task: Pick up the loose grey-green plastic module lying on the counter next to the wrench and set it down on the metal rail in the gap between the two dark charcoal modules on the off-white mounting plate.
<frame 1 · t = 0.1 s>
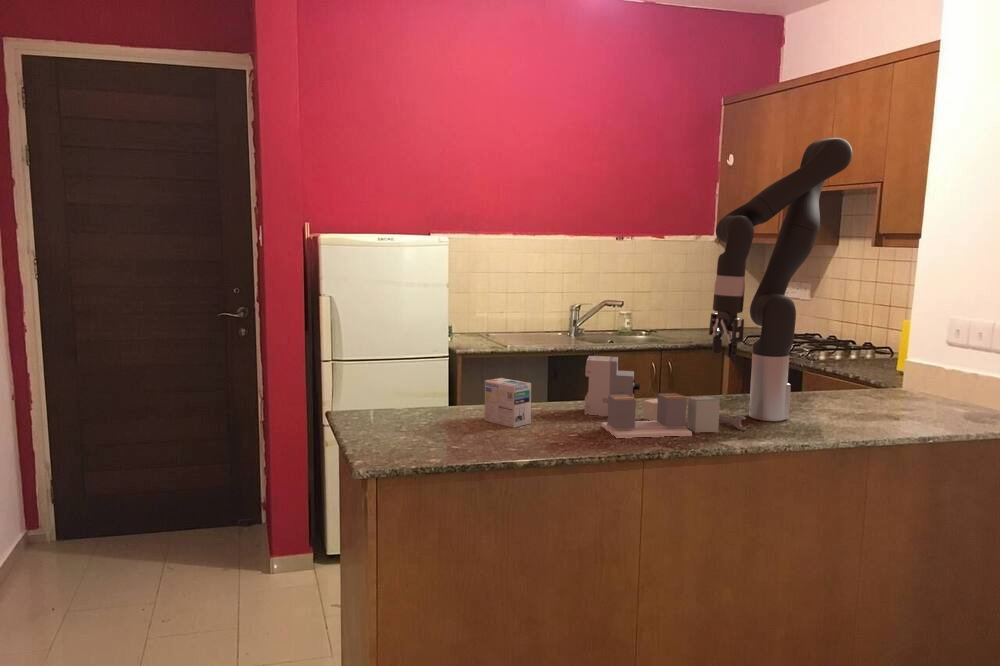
hand: (723, 355, 200), 17 cm above the worktop, tool pointing down, fingers open, 8 cm apart
circuit breaker: (611, 414, 208), on the worktop
module: (702, 430, 191), on the worktop
light bulb box: (507, 423, 196), on the worktop
combination wrench: (719, 424, 199), on the worktop
rail board: (645, 430, 189), on the worktop
terminal block: (654, 419, 201), on the worktop
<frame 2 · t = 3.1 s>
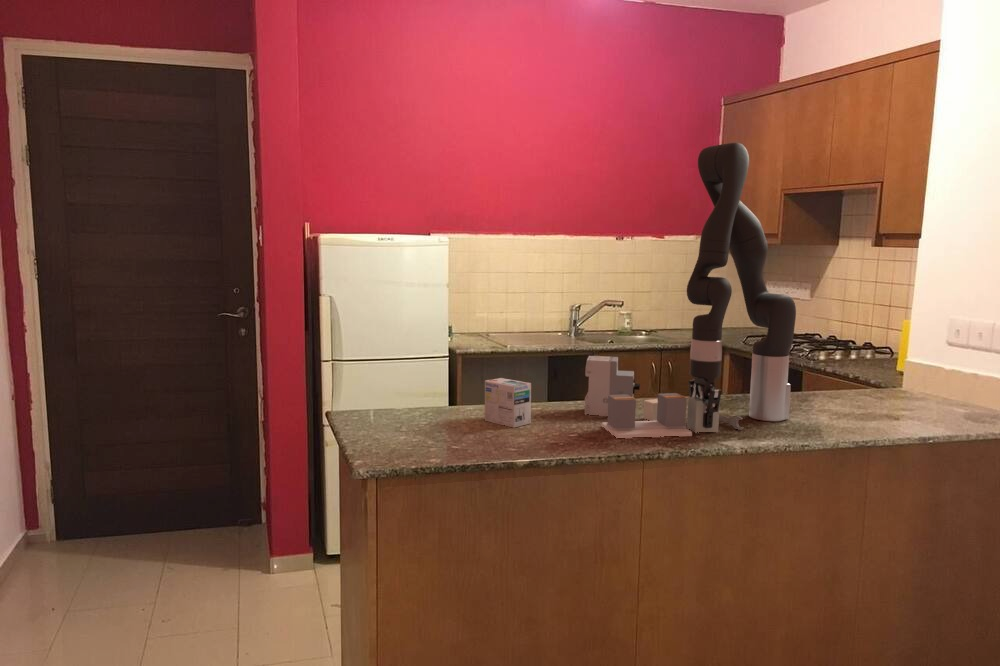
hand: (702, 424, 191), 1 cm above the worktop, tool pointing down, fingers closed on module, 5 cm apart
module: (702, 430, 191), on the worktop, touching gripper
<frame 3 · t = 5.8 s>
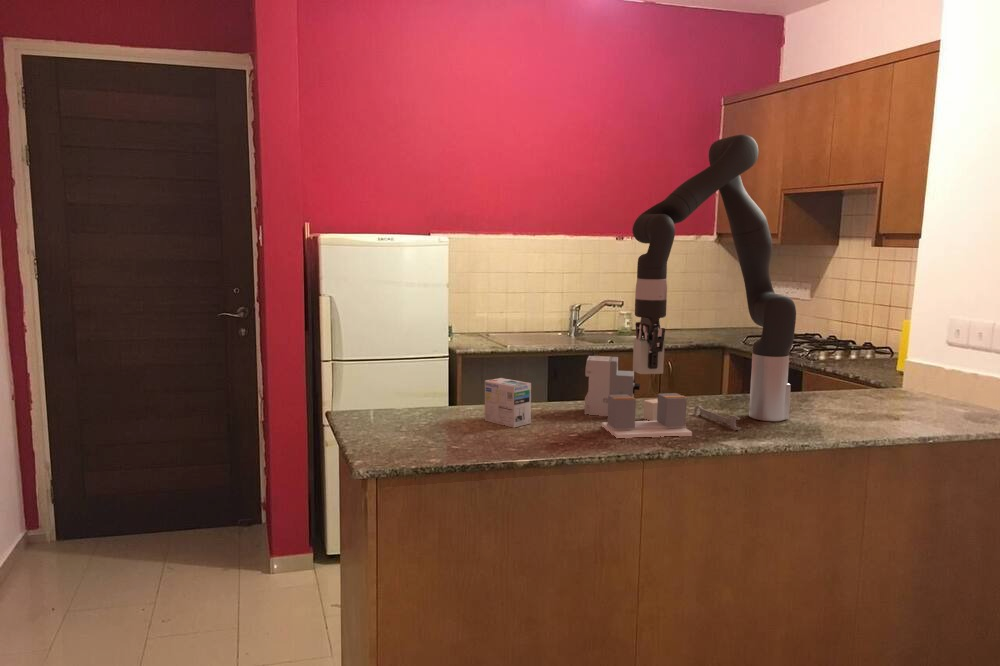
hand: (648, 366, 187), 16 cm above the worktop, tool pointing down, fingers closed on module, 5 cm apart
module: (647, 372, 187), point 15 cm above the worktop, touching gripper
when the fingers open (5 cm above the worktop, at t = 8.6 s): module drops 1 cm, resting on rail board.
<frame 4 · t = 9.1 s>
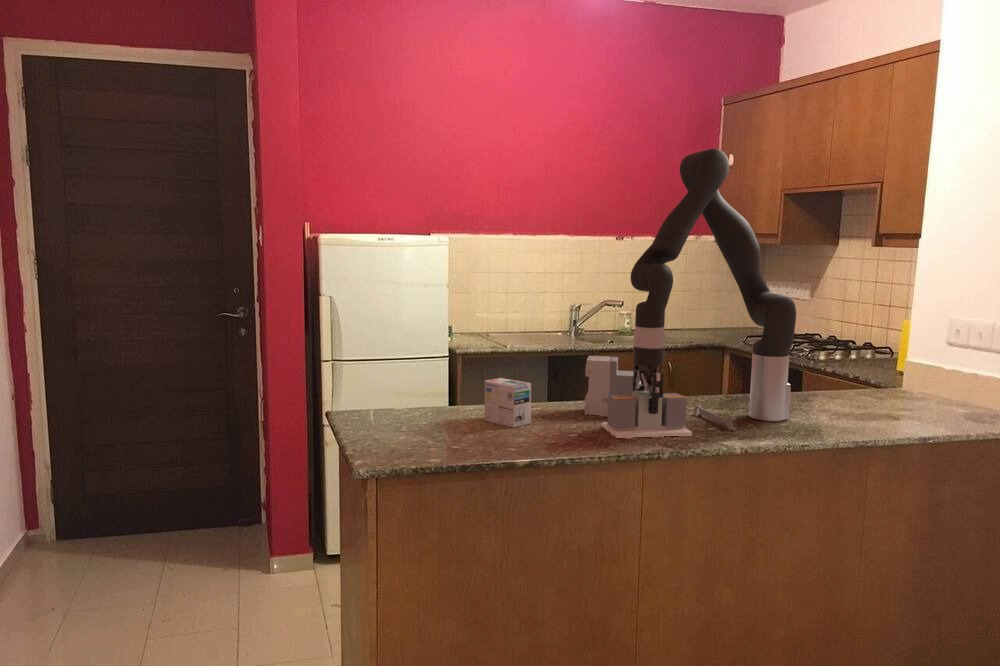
hand: (646, 409, 189), 5 cm above the worktop, tool pointing down, fingers open, 8 cm apart
module: (646, 424, 189), point 2 cm above the worktop, touching rail board
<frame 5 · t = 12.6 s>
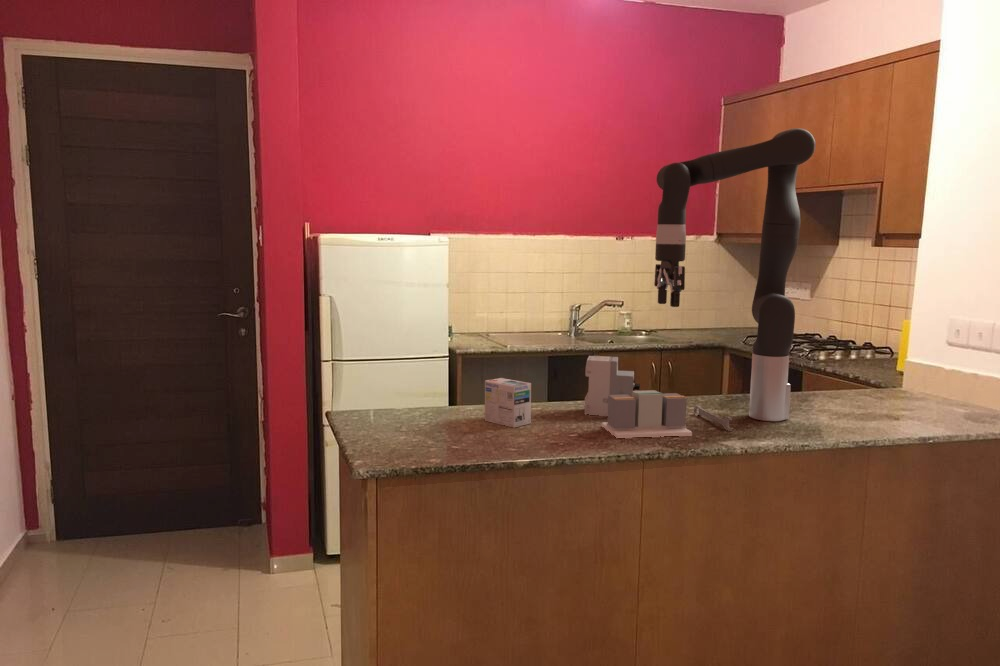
hand: (668, 305, 199), 30 cm above the worktop, tool pointing down, fingers open, 8 cm apart
at the end: module 0.0 cm from the target spot, point 1.7 cm above the worktop; module tilted 0°; the gripper is holding nothing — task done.
